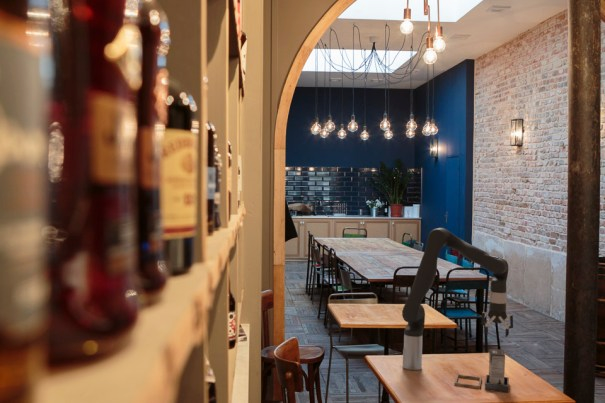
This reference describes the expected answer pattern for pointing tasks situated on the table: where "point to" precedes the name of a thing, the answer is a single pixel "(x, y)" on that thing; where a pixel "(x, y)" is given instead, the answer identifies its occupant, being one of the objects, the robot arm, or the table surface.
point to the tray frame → (468, 378)
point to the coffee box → (496, 366)
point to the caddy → (497, 387)
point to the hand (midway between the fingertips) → (496, 335)
